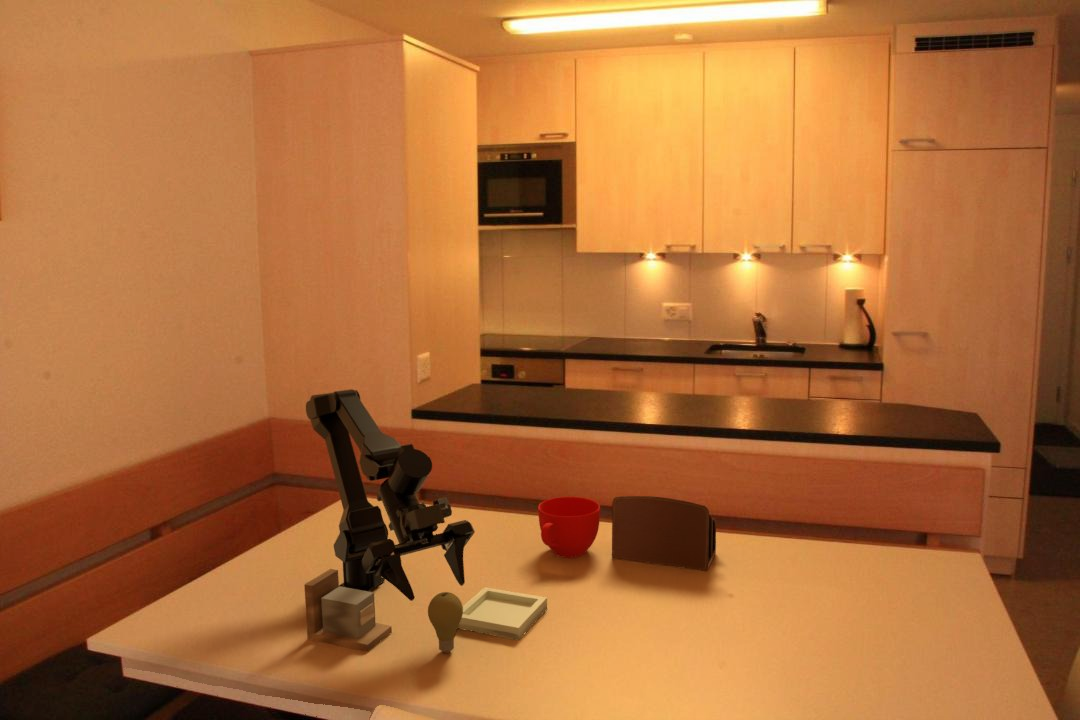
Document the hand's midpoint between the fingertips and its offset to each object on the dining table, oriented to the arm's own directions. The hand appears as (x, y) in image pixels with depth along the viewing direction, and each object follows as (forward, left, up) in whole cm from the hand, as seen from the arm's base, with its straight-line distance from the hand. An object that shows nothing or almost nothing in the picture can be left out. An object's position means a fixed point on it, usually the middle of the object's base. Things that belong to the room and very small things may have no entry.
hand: (438, 591), depth 136 cm
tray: (+5, +13, -9) cm, 17 cm away
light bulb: (+2, -1, -10) cm, 10 cm away
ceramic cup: (+5, +44, -10) cm, 45 cm away
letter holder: (+24, +51, -10) cm, 57 cm away
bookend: (-16, -2, -9) cm, 19 cm away
